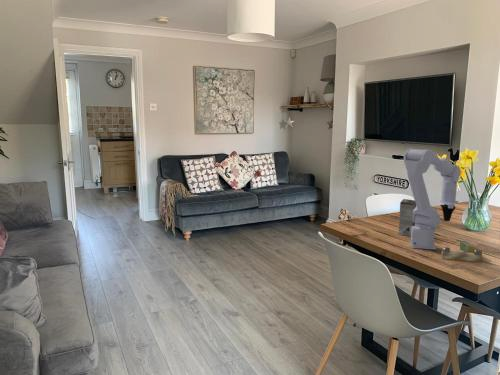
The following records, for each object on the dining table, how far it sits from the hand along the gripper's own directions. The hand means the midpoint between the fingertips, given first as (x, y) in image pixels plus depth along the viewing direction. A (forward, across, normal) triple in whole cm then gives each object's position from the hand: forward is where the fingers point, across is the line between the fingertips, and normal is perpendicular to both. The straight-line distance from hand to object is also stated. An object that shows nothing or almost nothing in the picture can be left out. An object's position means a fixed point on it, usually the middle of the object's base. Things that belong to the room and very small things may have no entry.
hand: (446, 220), depth 177 cm
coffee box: (+10, +8, +16) cm, 20 cm away
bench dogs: (+9, -25, -2) cm, 27 cm away
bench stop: (+9, -25, -2) cm, 27 cm away
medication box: (+10, -18, -7) cm, 21 cm away
